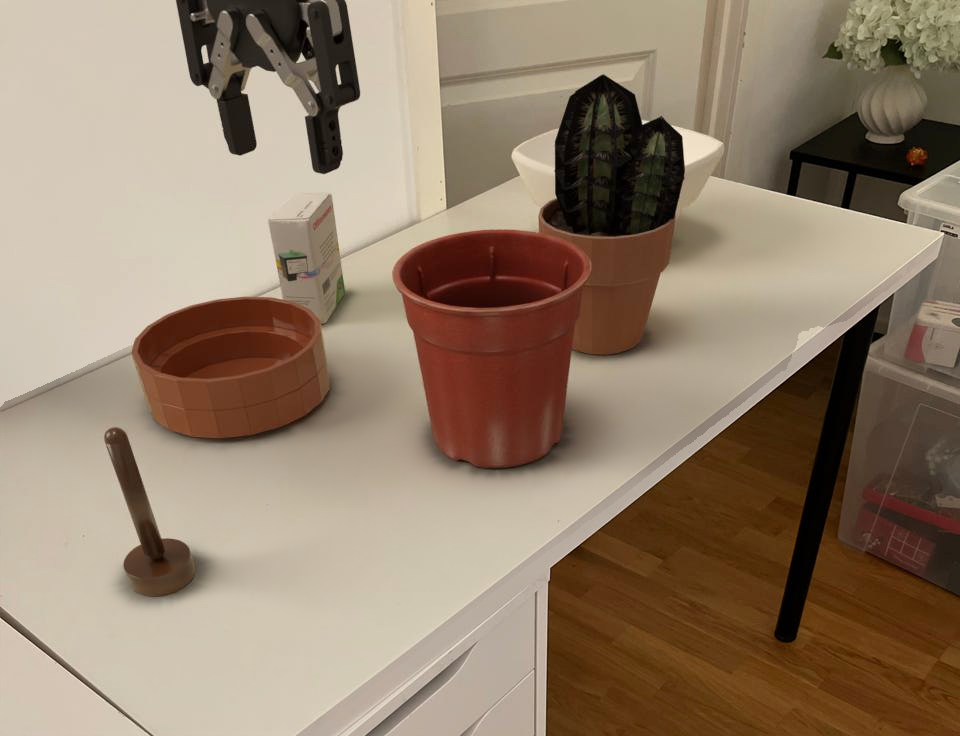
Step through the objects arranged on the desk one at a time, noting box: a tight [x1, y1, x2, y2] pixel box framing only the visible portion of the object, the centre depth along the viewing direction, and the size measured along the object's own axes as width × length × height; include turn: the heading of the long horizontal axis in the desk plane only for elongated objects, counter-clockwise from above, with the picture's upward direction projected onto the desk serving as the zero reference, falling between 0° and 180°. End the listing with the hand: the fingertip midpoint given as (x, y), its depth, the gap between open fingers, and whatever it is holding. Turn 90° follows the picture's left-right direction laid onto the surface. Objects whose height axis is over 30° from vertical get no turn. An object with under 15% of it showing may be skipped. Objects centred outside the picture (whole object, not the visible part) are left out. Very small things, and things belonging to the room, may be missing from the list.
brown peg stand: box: [103, 426, 196, 597], centre depth 73 cm, size 5×5×13 cm
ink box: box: [267, 192, 346, 324], centre depth 110 cm, size 8×5×12 cm, turn 170°
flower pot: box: [391, 228, 591, 469], centre depth 86 cm, size 16×16×16 cm
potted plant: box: [537, 74, 685, 356], centre depth 97 cm, size 14×14×25 cm
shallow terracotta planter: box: [130, 296, 331, 439], centre depth 97 cm, size 18×18×6 cm
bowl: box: [511, 119, 725, 223], centre depth 120 cm, size 22×22×12 cm
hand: (284, 161), depth 70 cm, fingers open, 8 cm apart
